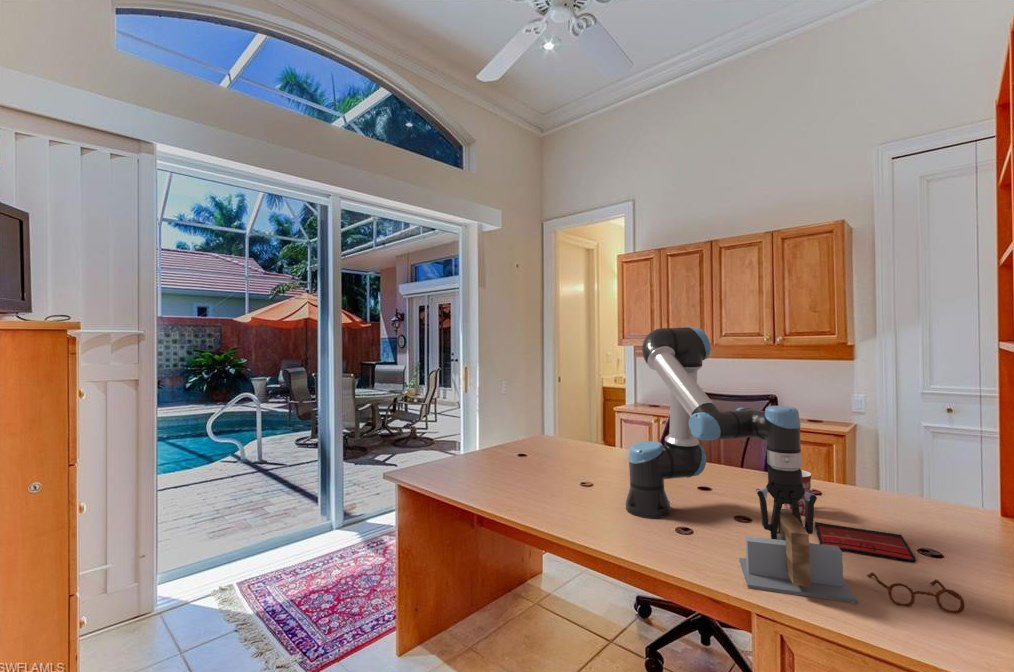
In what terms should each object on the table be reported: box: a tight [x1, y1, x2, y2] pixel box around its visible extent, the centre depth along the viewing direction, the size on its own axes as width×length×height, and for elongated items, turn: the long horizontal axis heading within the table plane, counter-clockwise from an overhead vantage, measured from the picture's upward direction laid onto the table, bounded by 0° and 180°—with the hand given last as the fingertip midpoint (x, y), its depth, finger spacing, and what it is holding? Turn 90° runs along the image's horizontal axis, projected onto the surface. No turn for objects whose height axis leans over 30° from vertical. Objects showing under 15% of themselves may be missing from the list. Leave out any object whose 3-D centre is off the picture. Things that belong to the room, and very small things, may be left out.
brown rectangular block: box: [778, 508, 811, 587], centre depth 110 cm, size 4×16×12 cm, turn 160°
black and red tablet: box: [814, 521, 917, 564], centre depth 128 cm, size 16×2×21 cm
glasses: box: [866, 572, 966, 615], centre depth 103 cm, size 13×13×5 cm
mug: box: [783, 469, 813, 517], centre depth 154 cm, size 13×9×14 cm
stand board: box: [738, 535, 859, 605], centre depth 110 cm, size 22×14×9 cm, turn 70°
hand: (788, 558), depth 115 cm, fingers closed on brown rectangular block, 3 cm apart
